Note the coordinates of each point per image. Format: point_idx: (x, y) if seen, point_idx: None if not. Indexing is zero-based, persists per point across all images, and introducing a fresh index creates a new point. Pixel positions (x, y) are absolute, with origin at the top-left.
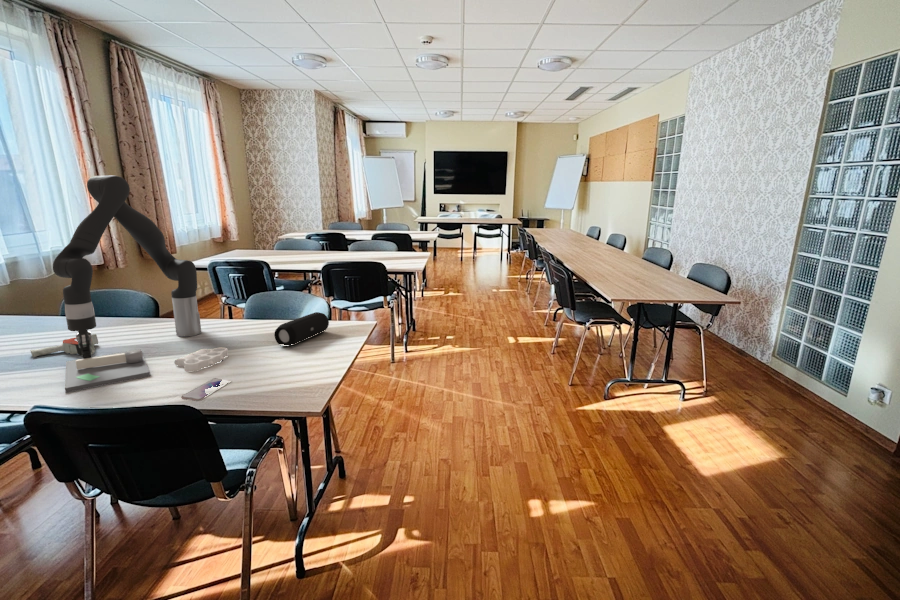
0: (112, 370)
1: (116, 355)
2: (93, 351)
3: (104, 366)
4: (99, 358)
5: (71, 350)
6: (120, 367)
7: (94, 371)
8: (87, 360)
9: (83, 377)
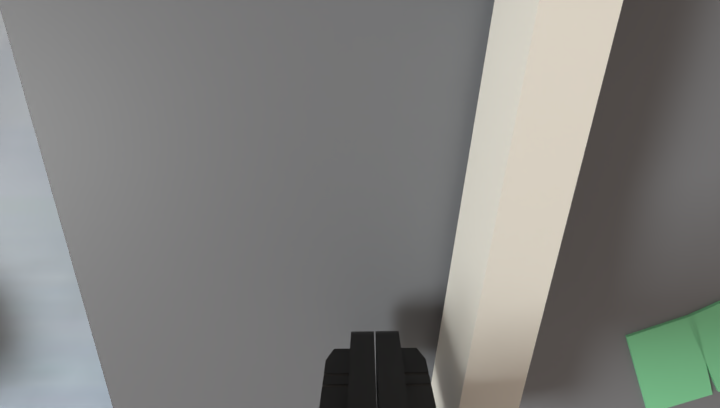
0: (708, 142)
1: (597, 87)
2: None
3: None
4: (543, 297)
5: None
6: (664, 58)
7: (596, 292)
8: (512, 403)
9: (715, 367)
